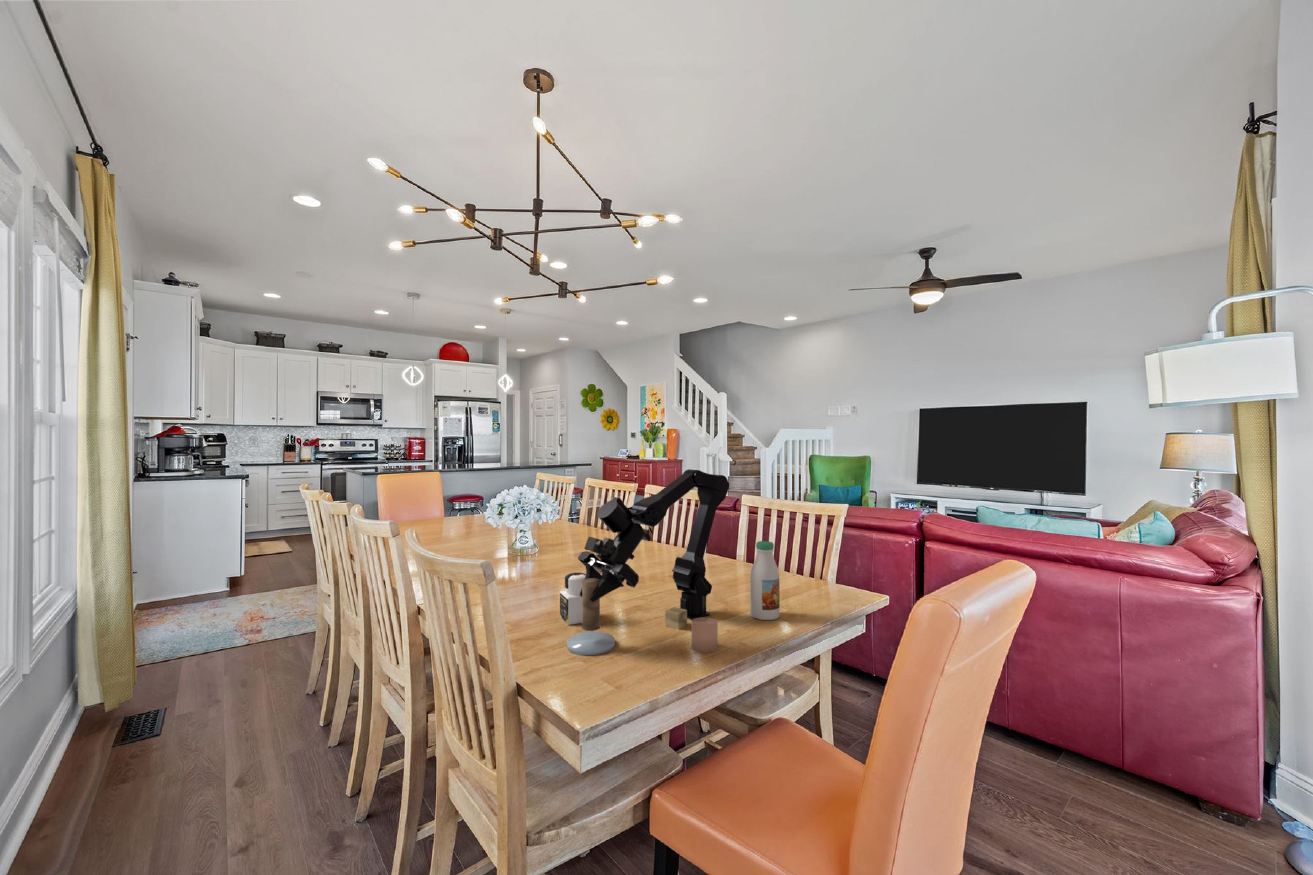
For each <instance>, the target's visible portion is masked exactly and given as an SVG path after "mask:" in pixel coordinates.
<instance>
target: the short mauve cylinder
mask: <svg viewBox="0 0 1313 875" xmlns="http://www.w3.org/2000/svg"><path fill="white" fill-rule="evenodd" d="M718 633H719V630H718V620H717V619H715V618H711V617H707V616H704V617H700V618H695V619H691V649H692V651H694V652H695V653H699V654H711V653H715V652H717V651H718V648H719V647H718V645H719V644H718V642H719V640H718V638H719V637H718V636H719V635H718Z"/></svg>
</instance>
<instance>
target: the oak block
mask: <svg viewBox="0 0 1313 875" xmlns="http://www.w3.org/2000/svg"><path fill="white" fill-rule="evenodd" d="M664 615H665V616H664V619H665V620H664V624H665V627H666V628H671V629H675V630H677V629H678V630H681V629H682V628H684V627H686V626H687V625H688V617H687V610H685V609H681V608H678V607H676V606H674V607H671V608H669V609H667V610H665V613H664Z"/></svg>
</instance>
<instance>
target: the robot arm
mask: <svg viewBox="0 0 1313 875" xmlns="http://www.w3.org/2000/svg"><path fill="white" fill-rule="evenodd" d="M694 488H697V497H698V501H699V504H698V508H697V511H696V515H695V517H694V518H695V519H694V522H693V526H692V530H691V532H690V537H689V540H688V544H687V546H686V550H685V553H684V554H683V555H682V556H677V557H676V558H675V561H674V566H673V568H672V570H671V572H672V579H673V581H674V583H675V585H676V589H677V590H678V591H681V594H680V595H681V597H680V601H679V602H680V603H679V605H680V606H679V607H680V608H681V609H685V610H687V619H690V620H693V619H695V618H701V617H707V616H710V615H711V612H708V611H707V596H708V595H709V594H710V595H711V593H712V589H713V585H712V584H711V583H710V582H709V580H708V579H707V578H706V577H705V576H706V572H707V571H706V570H707V569H706V568H707V567H706V564H705V560H704V557H705V552H706V549H707V546H708V541H709V538H710V534H711V530H712V527H713V523H714V519H715V515H716V511H717V508H718V507H719V506H720V505H721V504H722V502H723V501H725V499H726V497H727V494H728V491H729V489H730V482H729V479H728V478H727V477H726V475H723V474H711V473H706V472H704V471H703V470H702V471H701V470H699V469H691V468H690V469H686V470H684V472H682V473H681V475H680V476H678V477H676V478H675V479H674V480H673V481H671V482H670V483H669V484H667V486H665V487H664V488H662V489H661V490H660V491H659V492H657V493H655V494H653V495H651V496H647V497H644V498H642V499H640V500H639V501H636V502H635V503H634V504H633V505H632V506H629V507H627V505H625V503H624V501H623V500H622V499H621V497H618V496H613V498H612V499H611V500H608V501H607V502H605V503H604V504H603V505H601V506H600V507H599V509H598V511H597V515H596V516H597V517H598V519H599V520H600V521H601V522H602V523H603V524H604V525H605V526H606V528H608V529H609V530H610V531H611V532H612V533H614V534H615V533H617V534H616V536H615V537H614V538H609V537H604V538H603V540H602V539H599V538H597V537H592V536H588V537H587V540H586V543H585V546H584V548H583V549H584V550H585V551H581V552H580V554H579V555H578V557H577V560H578V561H579V562H580V563H581V564H583V566H584V567H585V572H586V573H585V574H586V576H585V579H588V578H596V579H599V580H600V582H599V583H598V585H597V587H596V588H595V590H594V592H593V593H592V595H591V597H590V600H591V601H592V602H594V601H596V600H597V599H599V598H600V599H601V598H603V597H605V596H606V595H608V594H609V593H611V592H613V591H615V590H617V589H619V588H624V585H625V584H626V585H627V586H628V587H630V588H633V589H635V588H636V586H637V584H638V583H640V582H639V581H640V576H639V574H638V573H637V572H636V571H635V570H634V569H633V568H632V567H631V566H630V565H629V564H627V562H628V561H629V560H631V561H632V560H633V559H634V558H635V555H634V554H633V553H634V552H635V550H636V549H637V547H638V546H639V545H640V543H641V542H642V540H643V541H646V542H651V541H652V538H651V534H650V532H651V531H650V530H649V529H645V528H644V527H643V526H649V527H655V526H657V525H659V524H660V522H661V521H662V520H664V518H665V517H666V515H667V513H668V510H669V508H671V507H672V506H673V505H674V504H676V502H678V501H679V500H680V499H682V498H683V497H684V496H685V495H686V494H688V493H690V491H691V490H693V489H694ZM642 525H643V526H642ZM624 582H625V584H623V583H624ZM580 596H581V597H582V589H581V592H580Z"/></svg>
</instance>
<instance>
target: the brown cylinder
mask: <svg viewBox="0 0 1313 875" xmlns="http://www.w3.org/2000/svg"><path fill="white" fill-rule="evenodd" d="M599 582H600V580H599V579H596V578H588V579H584V580H582V618H583V623H582V630H584V631H585V632H595V631H597V630H600V628H601V620H600V619H601V611H600V610H601V609H600V607H601V604H600V603H601V601H600V599H601V598H599V599H597V600H596V601H594V602H592V601H591V600H590V597H591V595H592V593H593V592H594V590H595V588H596V587H597V585H598V583H599Z"/></svg>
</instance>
